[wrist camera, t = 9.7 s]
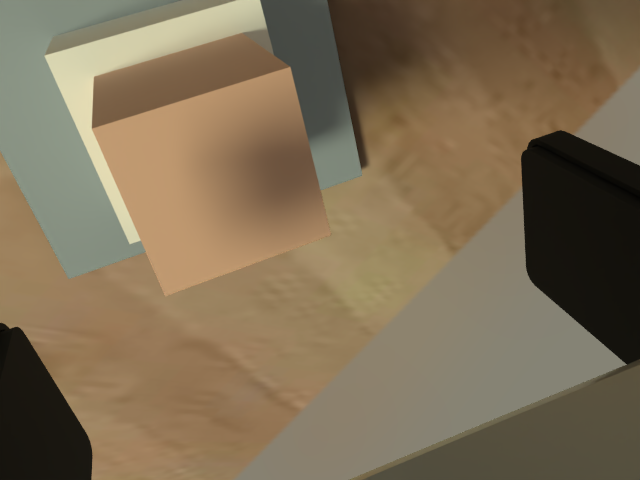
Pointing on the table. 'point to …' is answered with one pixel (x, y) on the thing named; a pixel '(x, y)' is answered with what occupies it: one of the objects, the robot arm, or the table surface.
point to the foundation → (126, 50)
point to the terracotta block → (210, 159)
